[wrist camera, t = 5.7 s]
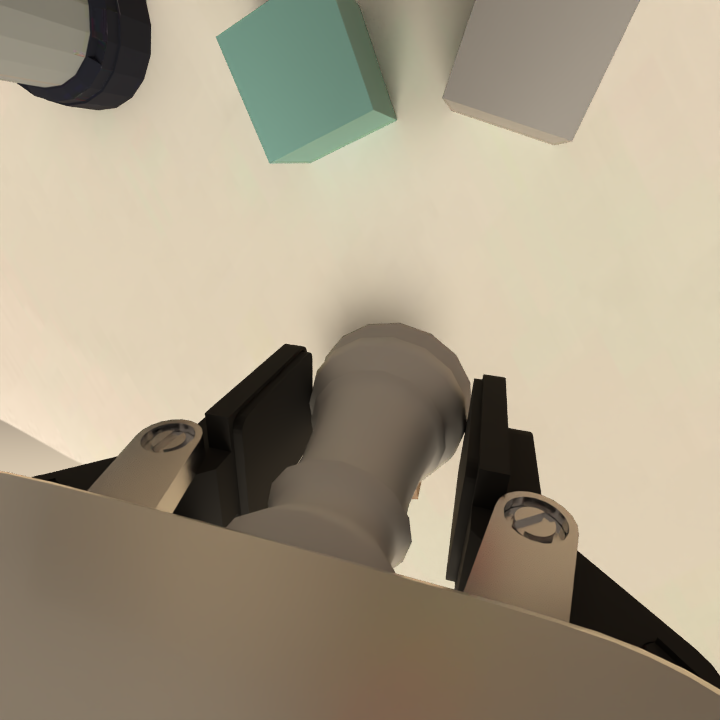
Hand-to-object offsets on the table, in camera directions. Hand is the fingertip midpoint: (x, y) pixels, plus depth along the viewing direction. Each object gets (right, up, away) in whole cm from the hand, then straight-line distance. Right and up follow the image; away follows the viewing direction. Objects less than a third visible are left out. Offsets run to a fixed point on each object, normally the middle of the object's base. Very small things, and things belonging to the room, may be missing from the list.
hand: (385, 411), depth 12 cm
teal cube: (-2, +15, +10) cm, 18 cm away
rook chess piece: (0, +1, +1) cm, 2 cm away
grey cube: (+7, +14, +7) cm, 17 cm away
